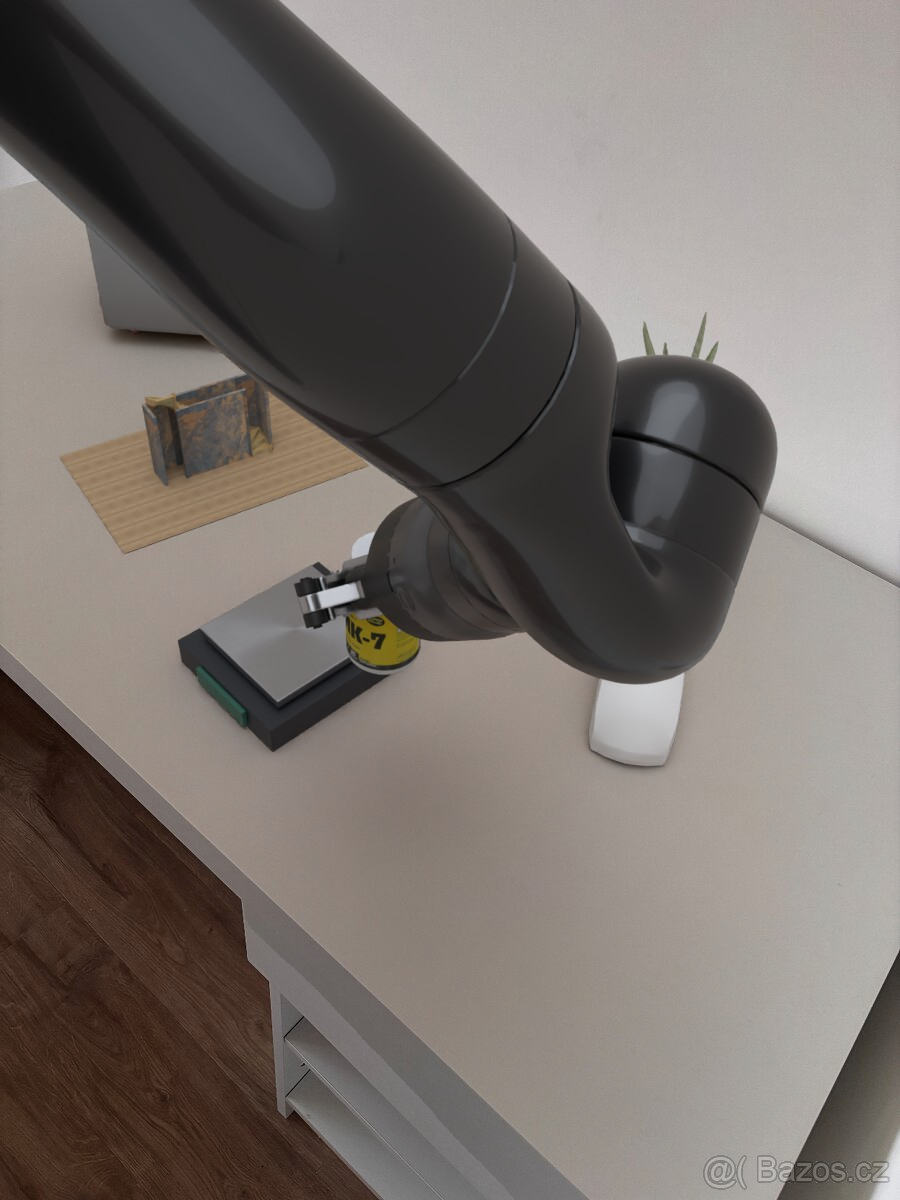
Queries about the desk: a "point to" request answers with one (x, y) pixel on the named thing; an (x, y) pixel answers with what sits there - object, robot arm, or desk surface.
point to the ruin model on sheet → (204, 461)
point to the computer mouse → (636, 720)
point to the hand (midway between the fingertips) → (371, 584)
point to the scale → (255, 706)
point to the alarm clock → (130, 295)
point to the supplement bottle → (378, 635)
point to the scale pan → (279, 642)
